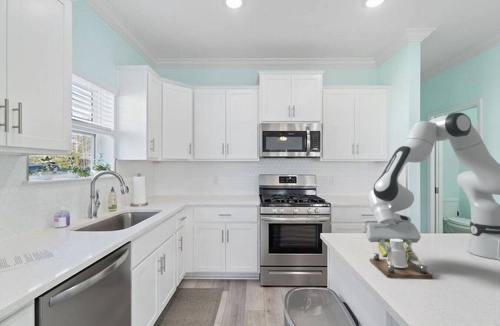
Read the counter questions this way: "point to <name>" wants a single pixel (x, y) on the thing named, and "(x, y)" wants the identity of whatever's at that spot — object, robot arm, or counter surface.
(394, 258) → the recessed downlight
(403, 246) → the plastic component
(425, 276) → the pin board
